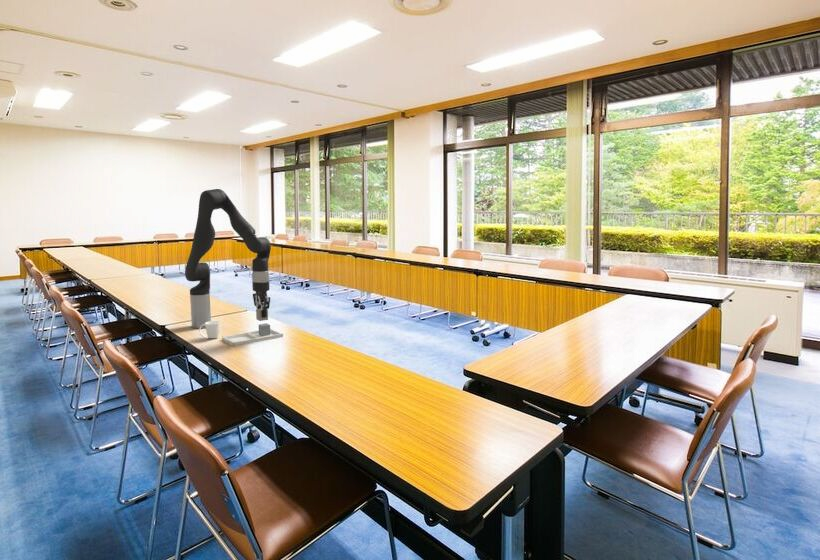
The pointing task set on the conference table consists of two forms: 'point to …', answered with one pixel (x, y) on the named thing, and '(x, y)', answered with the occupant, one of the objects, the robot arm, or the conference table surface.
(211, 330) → the cup
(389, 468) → the conference table surface
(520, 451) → the conference table surface
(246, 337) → the divided tray
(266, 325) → the matte grey cube
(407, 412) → the conference table surface
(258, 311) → the stone
